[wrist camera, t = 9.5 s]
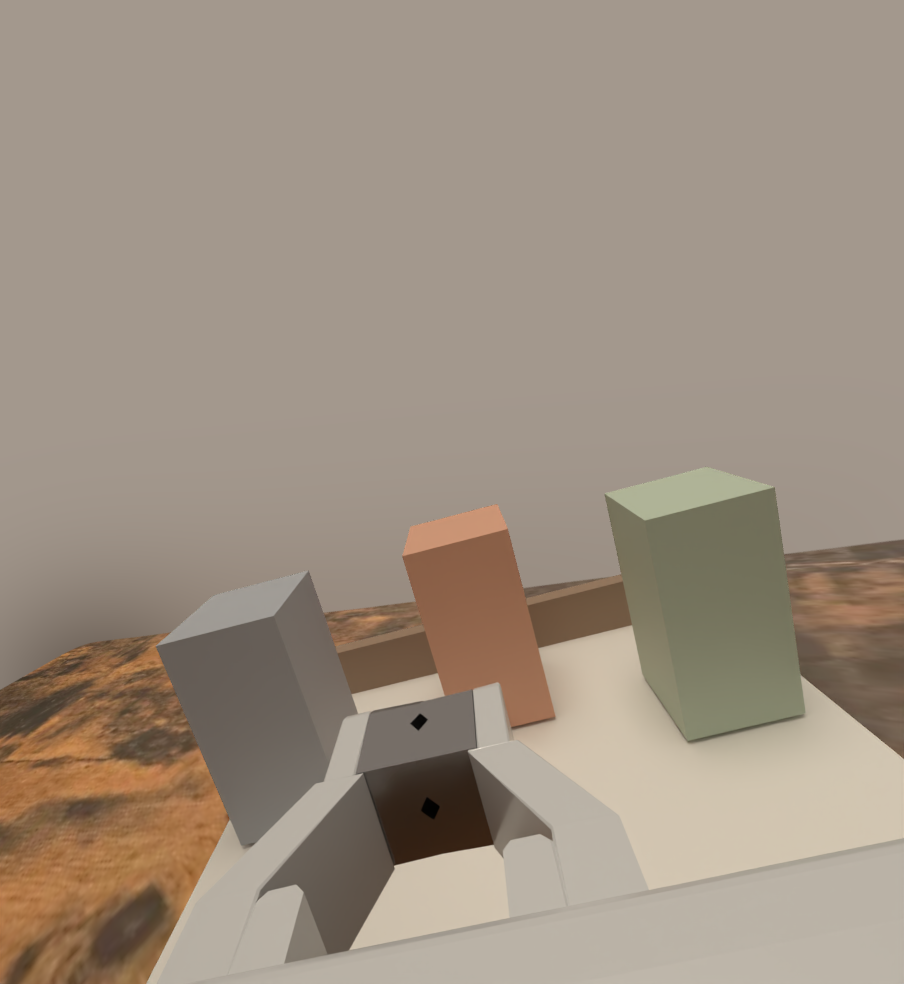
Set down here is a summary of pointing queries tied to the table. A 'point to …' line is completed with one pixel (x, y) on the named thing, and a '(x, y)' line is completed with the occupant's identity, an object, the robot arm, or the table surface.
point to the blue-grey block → (260, 696)
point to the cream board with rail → (626, 771)
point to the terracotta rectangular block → (477, 610)
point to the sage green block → (709, 599)
